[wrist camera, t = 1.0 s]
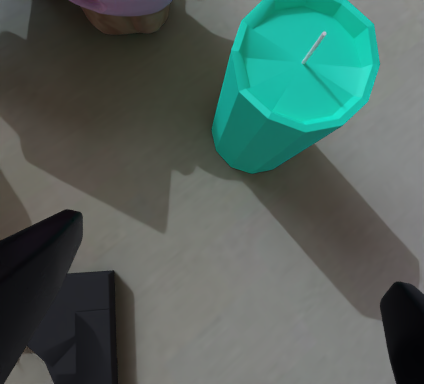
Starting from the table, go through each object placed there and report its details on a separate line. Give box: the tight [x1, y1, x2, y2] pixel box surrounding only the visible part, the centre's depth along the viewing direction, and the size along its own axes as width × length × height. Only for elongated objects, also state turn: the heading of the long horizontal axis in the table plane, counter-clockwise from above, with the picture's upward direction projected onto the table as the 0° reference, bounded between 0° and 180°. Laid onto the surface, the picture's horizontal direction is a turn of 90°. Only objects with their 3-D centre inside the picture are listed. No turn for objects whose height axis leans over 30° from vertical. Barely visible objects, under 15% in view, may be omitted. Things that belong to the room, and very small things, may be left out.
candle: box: [211, 0, 380, 174], centre depth 17 cm, size 6×6×12 cm
